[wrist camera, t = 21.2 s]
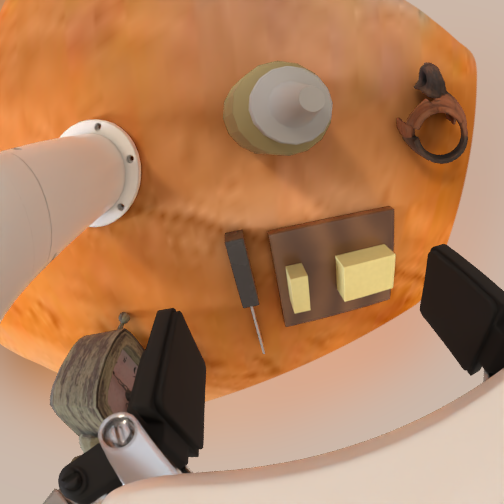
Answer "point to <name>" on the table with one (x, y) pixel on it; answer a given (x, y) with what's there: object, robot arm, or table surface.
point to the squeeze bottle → (278, 109)
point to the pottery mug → (442, 103)
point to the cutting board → (328, 259)
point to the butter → (365, 272)
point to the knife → (243, 274)
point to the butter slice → (298, 287)
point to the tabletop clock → (96, 381)
